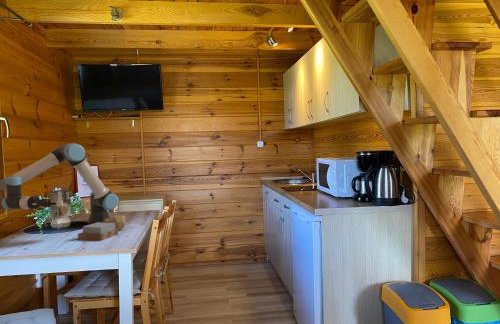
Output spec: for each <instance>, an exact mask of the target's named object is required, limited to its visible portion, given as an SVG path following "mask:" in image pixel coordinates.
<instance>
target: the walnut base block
mask: <svg viewBox="0 0 500 324" xmlns="http://www.w3.org/2000/svg"><path fill="white" fill-rule="evenodd" d="M118 235H119V231H118V229H115V230H113V231H110V232H107V233H104V234H86V233H83V231H82V232H80V233H77V240H81V241H82V240H83V241H84V240H85V241H96V242H97V241H99V242H101V241H104V240H107V239H110V238H113V237H115V236H118Z"/></svg>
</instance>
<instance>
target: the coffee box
mask: <svg viewBox="0 0 500 324" xmlns="http://www.w3.org/2000/svg"><path fill="white" fill-rule="evenodd" d="M70 198H71V189H66V188H65V189H63V188H61V189H55V190H50V191H49V199H50V202H51V201H63V206H51V207H50V218H51V219H57V220H58V219H63V218H67V217H72V211H71V210H72V207H71V203H70Z"/></svg>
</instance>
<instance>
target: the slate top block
mask: <svg viewBox="0 0 500 324" xmlns="http://www.w3.org/2000/svg"><path fill="white" fill-rule="evenodd" d="M113 230H115V223H100V222H97V223H94V224H90V223H89V224H87V225H84V226H82V232H83V233H86V234H104V233H107V232H110V231H113Z"/></svg>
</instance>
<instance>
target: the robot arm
mask: <svg viewBox="0 0 500 324" xmlns="http://www.w3.org/2000/svg"><path fill="white" fill-rule="evenodd" d="M65 162H67V163H68V165H69V166H70V167H71V168H74V169H75V170H76V171H77V173H78V174H79V175H80V177H81V178H82V179H83V181H84V182H85V184H86V185H87V186H88V187H89V189H90V190H91V192H90V193H89V200H90V202H89V203H90V205H89V206H90V207H89V208H90V214H89V217H88V220H87V221H88V222H87V223H88V224H89V225H90V224H94V223H97V222H100V223H104V221H105V219H106V218H111V217H110V214H109V211H112V210H114V209H117V207H118V205H119V201H120V200H119V197H118V195H116V194H115V193H113V192H112V190H111V188H110V187H106V186H105V185H104V183H103V182H102V181H101V179H100V177H99V176H98V175H97V173H96V172H95V170H94V169H93V168H92V166H91V165H90V163H89V162H88V157H87V155H86V150H85V148H84V147H83V146H82V145H81V144H78V143H64V144H61V145H60V146H58V147H56V148H55V149H54V150H52V151H50V152H49V153H48V154H47V155H45V156H44V157H42V158H41V159H39V160H37V161H36V162H34V163H32V164H30V165H28V166H27V167H24V168H23V169H21V170H20V171H18V172H15V173H14V174H12V175H11V176H8V177H7V176H6V177H5V178H3V179H1V180H0V190H2V191H3V192H5V193H6V196H5V197H3V198H2V200H1V206H2V208H3V209H4V210H12V211H13V210H25V211H27V210H30V209H31V210H37V209H38V208H40V207H46V208H47V207H48V208H51V206H63V201H51V202H50V198H40V197H39V196H37V195H36V196H35V195H33V196H30V195H28V196H27V195H26V196H25V195H23V196H22V184H24V183H26V182H28V181H30V180H31V179H33V178H35V177H36V176H38V175H40V174H41V173H43V172H45V171H46V170H49V169H50V168H51V167H53V166H56V165H61V164H62V163H65ZM70 204H73V198H71V197H70Z"/></svg>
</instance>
